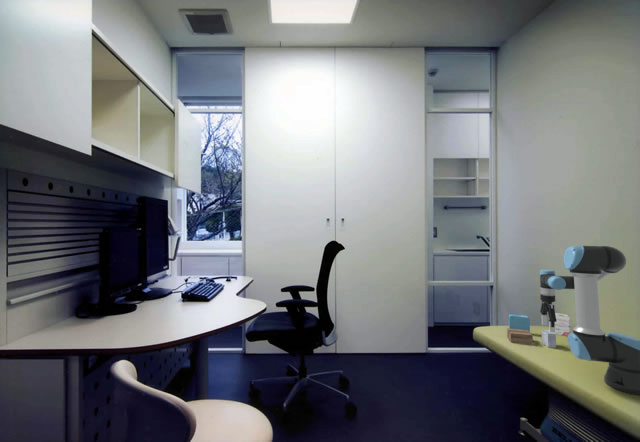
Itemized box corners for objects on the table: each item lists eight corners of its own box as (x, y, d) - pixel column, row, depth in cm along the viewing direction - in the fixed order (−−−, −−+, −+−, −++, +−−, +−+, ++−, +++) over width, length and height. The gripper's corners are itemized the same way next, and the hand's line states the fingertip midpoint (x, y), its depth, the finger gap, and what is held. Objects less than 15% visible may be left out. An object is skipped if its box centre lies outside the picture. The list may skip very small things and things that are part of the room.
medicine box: (556, 348, 187) (556, 334, 187) (548, 347, 188) (547, 333, 188) (549, 343, 195) (549, 329, 195) (541, 343, 195) (541, 329, 196)
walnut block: (532, 344, 192) (532, 335, 192) (510, 342, 196) (510, 333, 197) (528, 339, 202) (527, 330, 202) (507, 337, 206) (507, 328, 206)
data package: (529, 333, 214) (529, 316, 214) (530, 335, 210) (529, 317, 210) (509, 330, 220) (508, 313, 220) (509, 332, 216) (509, 315, 216)
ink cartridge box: (571, 335, 209) (570, 313, 210) (569, 337, 206) (569, 315, 206) (555, 332, 216) (555, 311, 216) (554, 333, 212) (553, 312, 213)
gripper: (534, 290, 205) (534, 321, 205) (547, 298, 182) (548, 334, 181) (547, 290, 202) (548, 323, 202) (562, 299, 179) (563, 336, 179)
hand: (548, 328), depth 192 cm, fingers open, 13 cm apart
